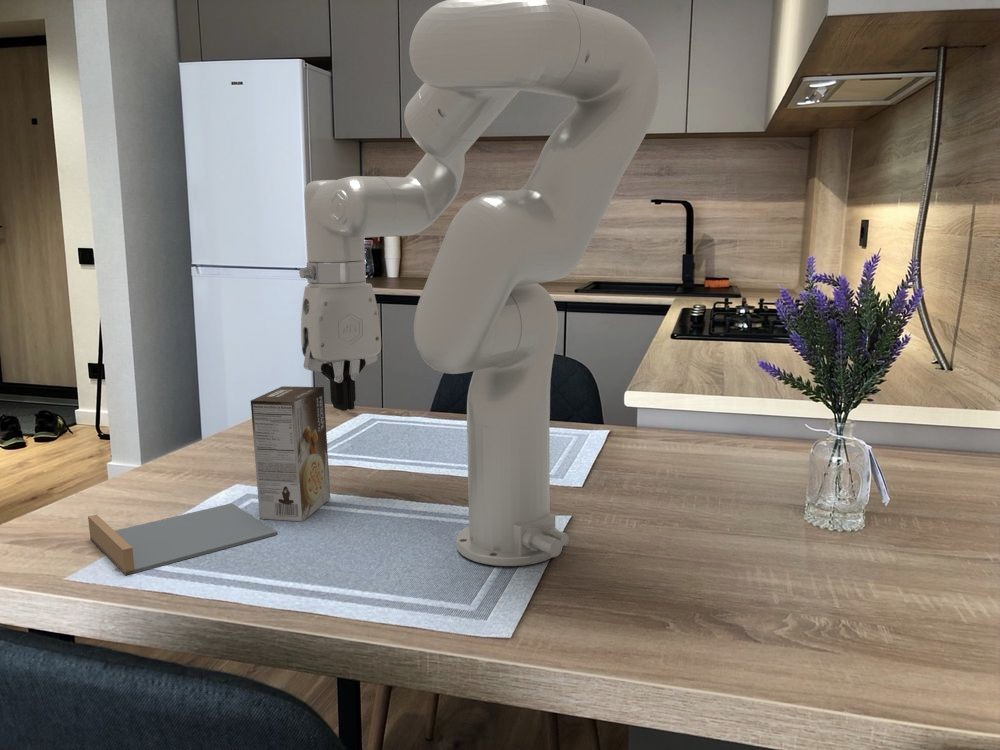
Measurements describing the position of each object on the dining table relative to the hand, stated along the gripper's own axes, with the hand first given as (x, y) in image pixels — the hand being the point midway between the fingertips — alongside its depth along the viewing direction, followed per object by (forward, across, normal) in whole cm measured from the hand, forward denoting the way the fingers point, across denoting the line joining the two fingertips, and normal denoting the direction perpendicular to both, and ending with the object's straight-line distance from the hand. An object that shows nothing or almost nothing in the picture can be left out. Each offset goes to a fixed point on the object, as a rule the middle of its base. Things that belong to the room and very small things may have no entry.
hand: (343, 408), depth 116 cm
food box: (+13, -8, 0) cm, 15 cm away
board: (+13, -23, 0) cm, 26 cm away
